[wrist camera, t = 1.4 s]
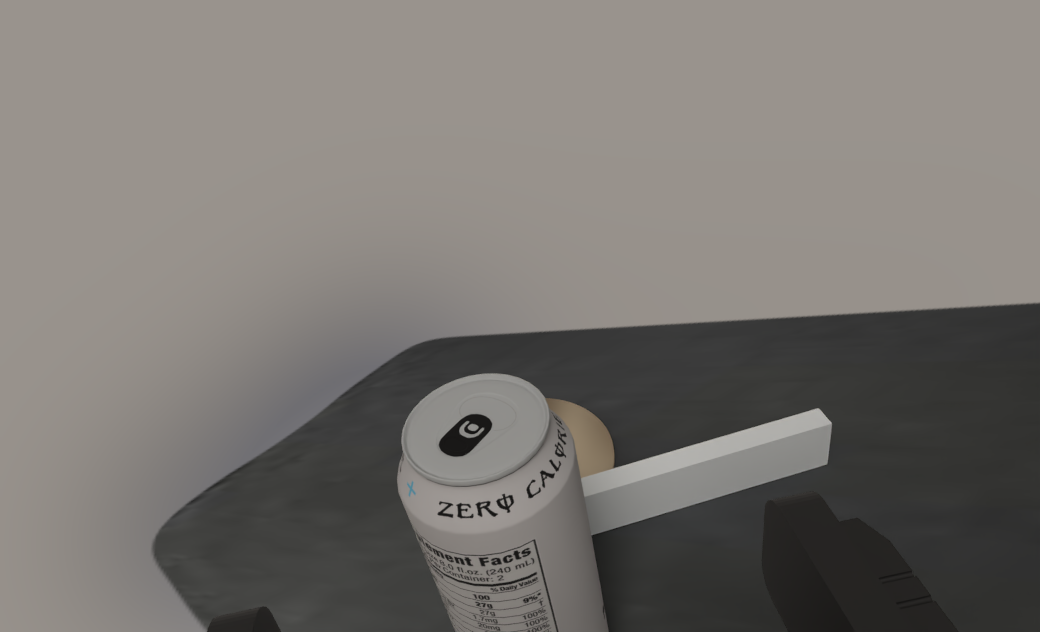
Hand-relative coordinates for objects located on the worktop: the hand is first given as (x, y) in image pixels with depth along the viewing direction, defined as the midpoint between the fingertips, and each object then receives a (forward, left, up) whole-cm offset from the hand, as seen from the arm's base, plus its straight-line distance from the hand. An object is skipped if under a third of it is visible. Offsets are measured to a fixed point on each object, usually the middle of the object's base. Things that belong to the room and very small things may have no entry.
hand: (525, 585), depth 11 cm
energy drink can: (0, -10, -21) cm, 23 cm away
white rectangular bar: (-6, -17, -20) cm, 27 cm away
